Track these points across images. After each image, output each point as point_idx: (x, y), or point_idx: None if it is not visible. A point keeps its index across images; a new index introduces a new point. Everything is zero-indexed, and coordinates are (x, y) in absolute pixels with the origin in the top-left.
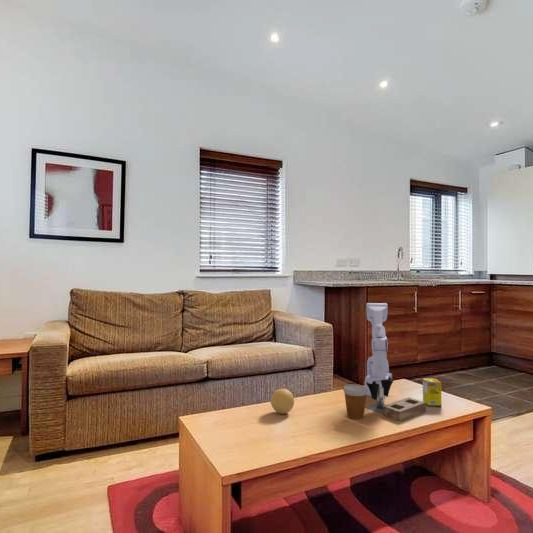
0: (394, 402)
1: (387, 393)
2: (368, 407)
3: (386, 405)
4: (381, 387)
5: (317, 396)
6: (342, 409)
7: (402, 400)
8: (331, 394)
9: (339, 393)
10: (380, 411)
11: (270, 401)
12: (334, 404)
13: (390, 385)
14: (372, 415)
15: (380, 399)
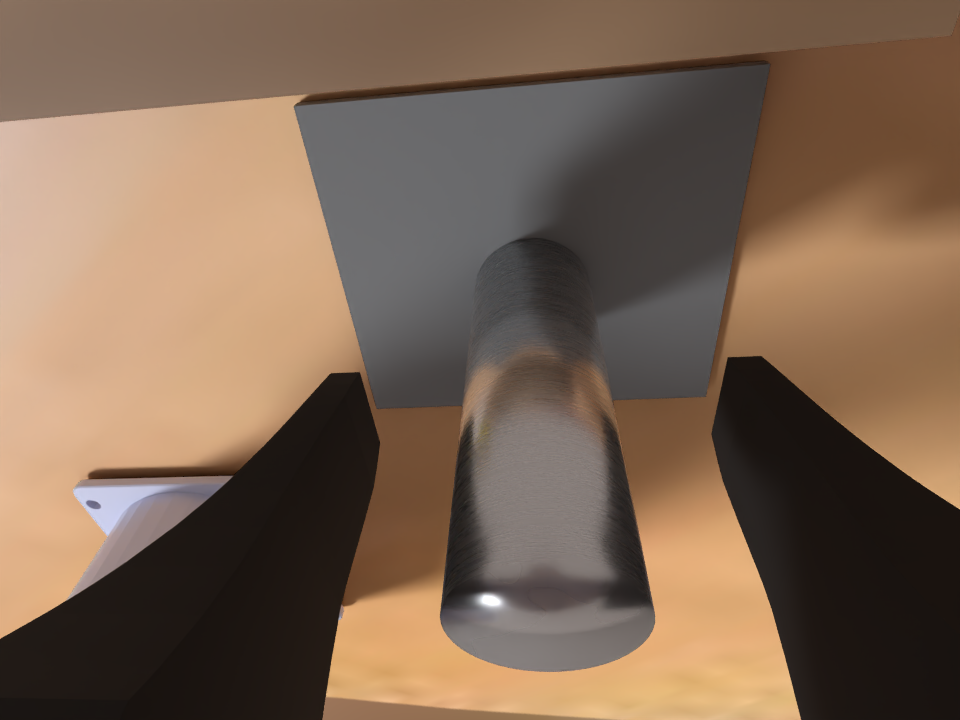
0: (431, 62)
1: (340, 408)
2: (666, 377)
3: (837, 9)
4: (564, 583)
5: (749, 714)
6: (951, 488)
7: (109, 52)
8: (612, 697)
9: (532, 686)
10: (680, 175)
11: None
12: None
13: (168, 557)
14: (936, 140)
15: (590, 348)
